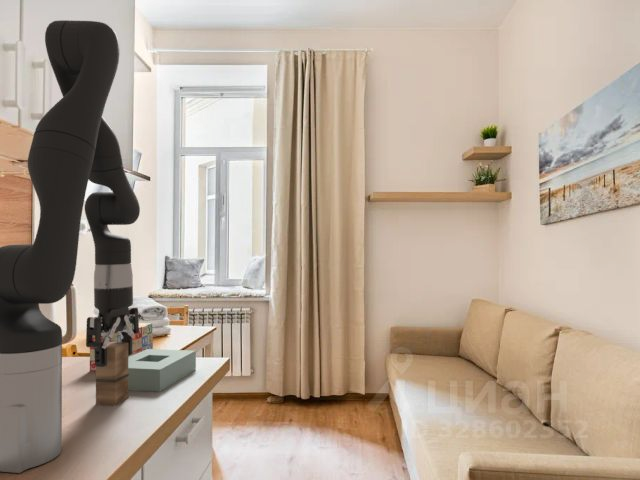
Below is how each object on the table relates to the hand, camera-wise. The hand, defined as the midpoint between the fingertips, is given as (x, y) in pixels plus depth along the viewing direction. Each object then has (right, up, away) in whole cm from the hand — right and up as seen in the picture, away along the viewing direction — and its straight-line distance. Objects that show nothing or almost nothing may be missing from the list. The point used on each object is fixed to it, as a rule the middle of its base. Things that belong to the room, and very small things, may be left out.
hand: (114, 360), depth 94 cm
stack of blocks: (-13, -9, +32) cm, 36 cm away
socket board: (+2, -9, +15) cm, 18 cm away
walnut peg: (0, -9, -1) cm, 9 cm away
